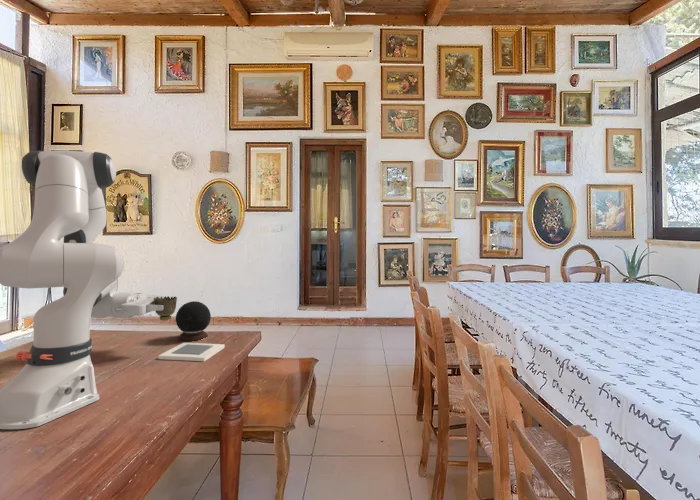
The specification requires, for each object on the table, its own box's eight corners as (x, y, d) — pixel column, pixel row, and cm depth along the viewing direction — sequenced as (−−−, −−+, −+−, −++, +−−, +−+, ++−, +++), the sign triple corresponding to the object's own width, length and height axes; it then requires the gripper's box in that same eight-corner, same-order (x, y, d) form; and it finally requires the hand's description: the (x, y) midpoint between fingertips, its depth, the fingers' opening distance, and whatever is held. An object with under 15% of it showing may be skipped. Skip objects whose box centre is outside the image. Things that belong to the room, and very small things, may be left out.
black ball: (175, 335, 154) (175, 299, 154) (209, 332, 159) (209, 298, 159) (175, 343, 142) (175, 305, 142) (211, 340, 148) (212, 303, 147)
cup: (176, 321, 129) (176, 298, 129) (152, 322, 126) (152, 299, 126) (177, 317, 136) (177, 295, 136) (154, 318, 133) (155, 296, 133)
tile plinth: (204, 361, 122) (204, 356, 122) (158, 359, 124) (158, 354, 124) (224, 347, 138) (224, 343, 138) (183, 345, 140) (183, 341, 140)
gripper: (111, 301, 119) (156, 301, 121) (140, 292, 139) (178, 292, 141) (111, 320, 119) (155, 320, 121) (140, 309, 140) (178, 309, 141)
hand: (168, 305), depth 131 cm, fingers closed on cup, 7 cm apart
